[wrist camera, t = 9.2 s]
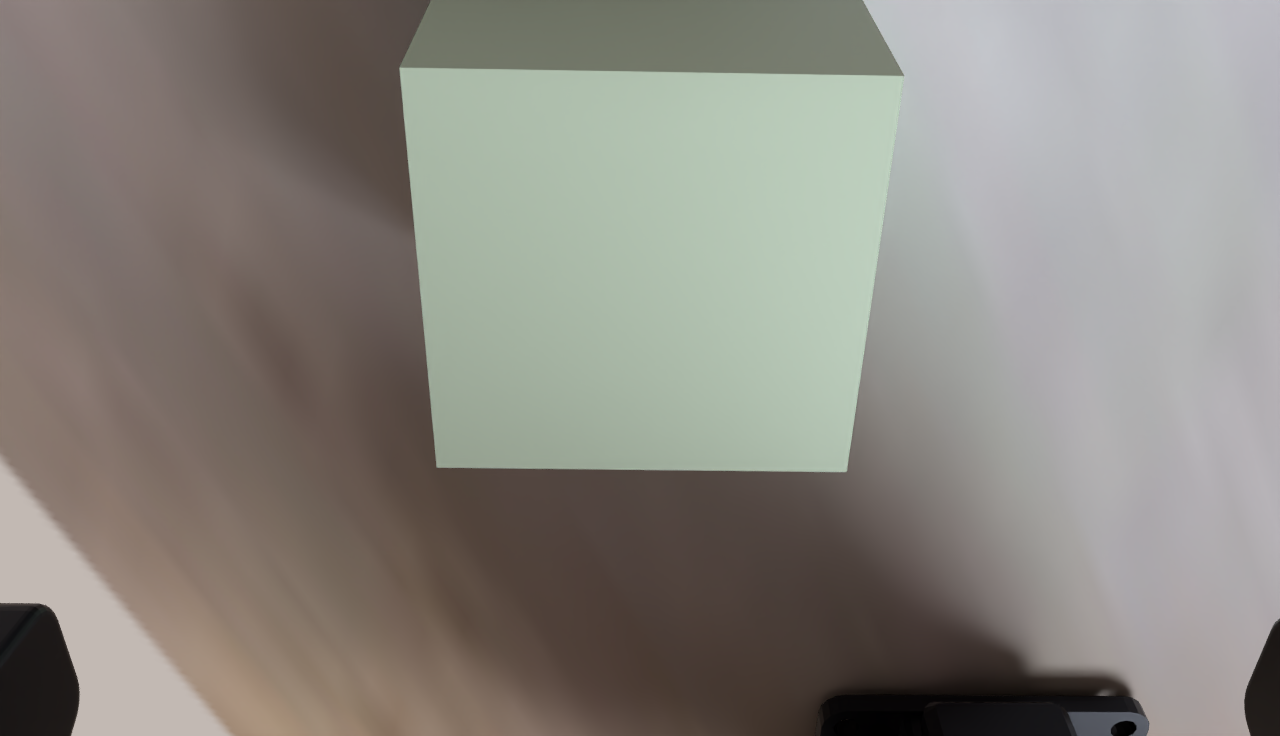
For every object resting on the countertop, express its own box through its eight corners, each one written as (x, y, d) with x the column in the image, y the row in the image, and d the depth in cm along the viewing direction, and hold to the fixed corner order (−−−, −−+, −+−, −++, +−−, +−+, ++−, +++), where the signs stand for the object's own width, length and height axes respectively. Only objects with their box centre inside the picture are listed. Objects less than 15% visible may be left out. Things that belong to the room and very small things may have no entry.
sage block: (798, 273, 19) (846, 471, 15) (479, 270, 19) (436, 468, 15) (833, -54, 16) (903, 76, 12) (458, -61, 16) (399, 67, 12)
